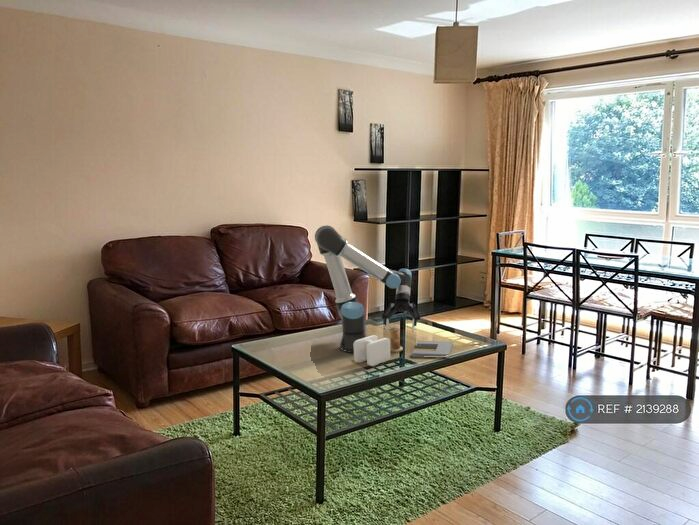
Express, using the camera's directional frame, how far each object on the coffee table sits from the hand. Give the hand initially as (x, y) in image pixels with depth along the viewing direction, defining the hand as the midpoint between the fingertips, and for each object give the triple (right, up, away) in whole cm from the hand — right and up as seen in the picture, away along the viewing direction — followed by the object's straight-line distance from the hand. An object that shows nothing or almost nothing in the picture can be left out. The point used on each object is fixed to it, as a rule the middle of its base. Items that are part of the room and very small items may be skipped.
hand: (399, 331), depth 297 cm
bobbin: (-2, -9, -2) cm, 10 cm away
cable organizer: (-15, -13, -18) cm, 26 cm away
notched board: (+16, -9, -7) cm, 20 cm away
